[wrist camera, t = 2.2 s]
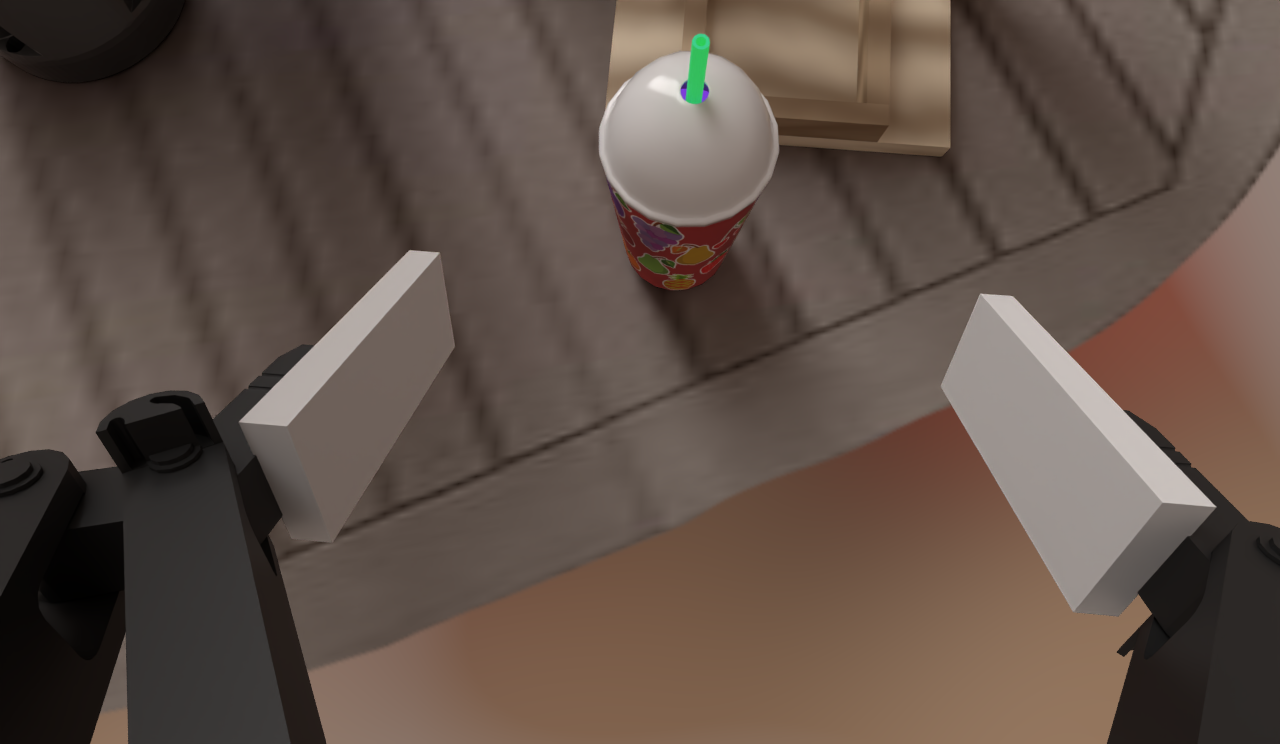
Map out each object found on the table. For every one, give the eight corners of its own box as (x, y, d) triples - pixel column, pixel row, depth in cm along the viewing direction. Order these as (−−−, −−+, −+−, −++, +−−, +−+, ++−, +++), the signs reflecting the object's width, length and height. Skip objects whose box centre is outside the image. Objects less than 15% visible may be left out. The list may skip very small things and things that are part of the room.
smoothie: (748, 210, 41) (842, -29, 21) (717, 321, 40) (786, 176, 20) (634, 179, 41) (622, -83, 22) (599, 288, 40) (553, 115, 20)
